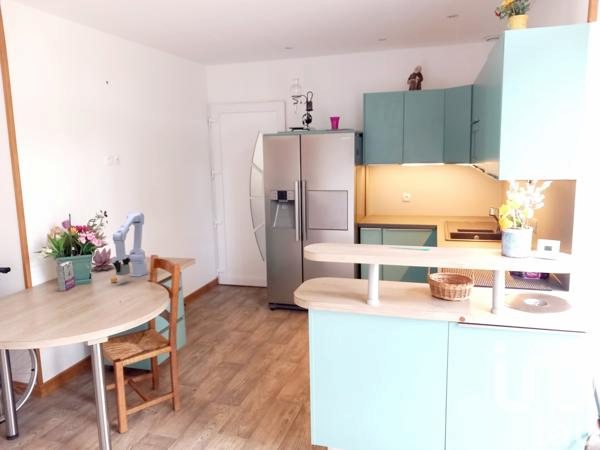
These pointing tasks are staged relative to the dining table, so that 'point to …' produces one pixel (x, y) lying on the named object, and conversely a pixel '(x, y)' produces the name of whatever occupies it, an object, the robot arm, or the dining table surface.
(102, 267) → the decorative flower
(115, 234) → the robot arm
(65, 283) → the candy bar box
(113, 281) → the ball
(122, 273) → the grey cube
